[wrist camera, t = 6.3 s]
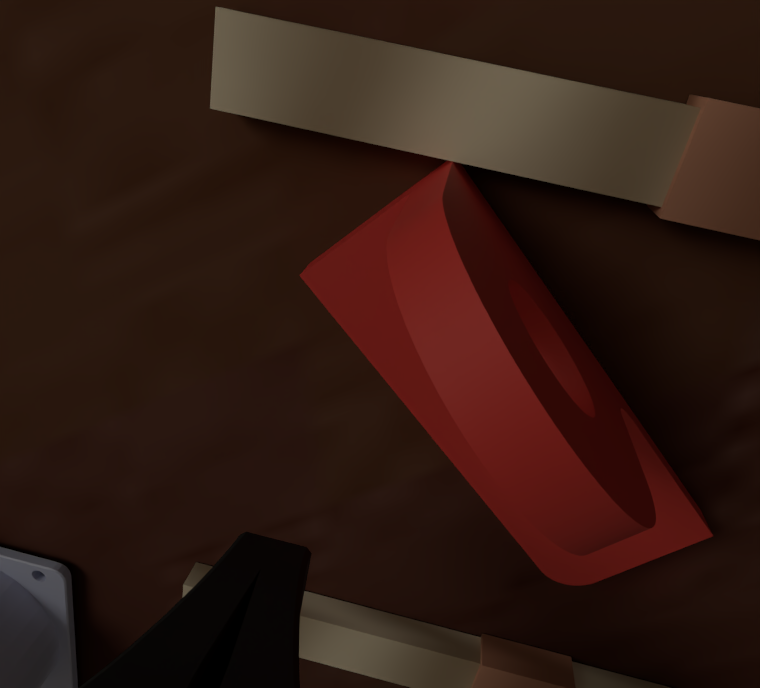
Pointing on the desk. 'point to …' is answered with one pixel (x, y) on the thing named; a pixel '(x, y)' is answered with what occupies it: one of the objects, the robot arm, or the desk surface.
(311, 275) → the bracket
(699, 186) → the guide track
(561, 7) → the desk surface
